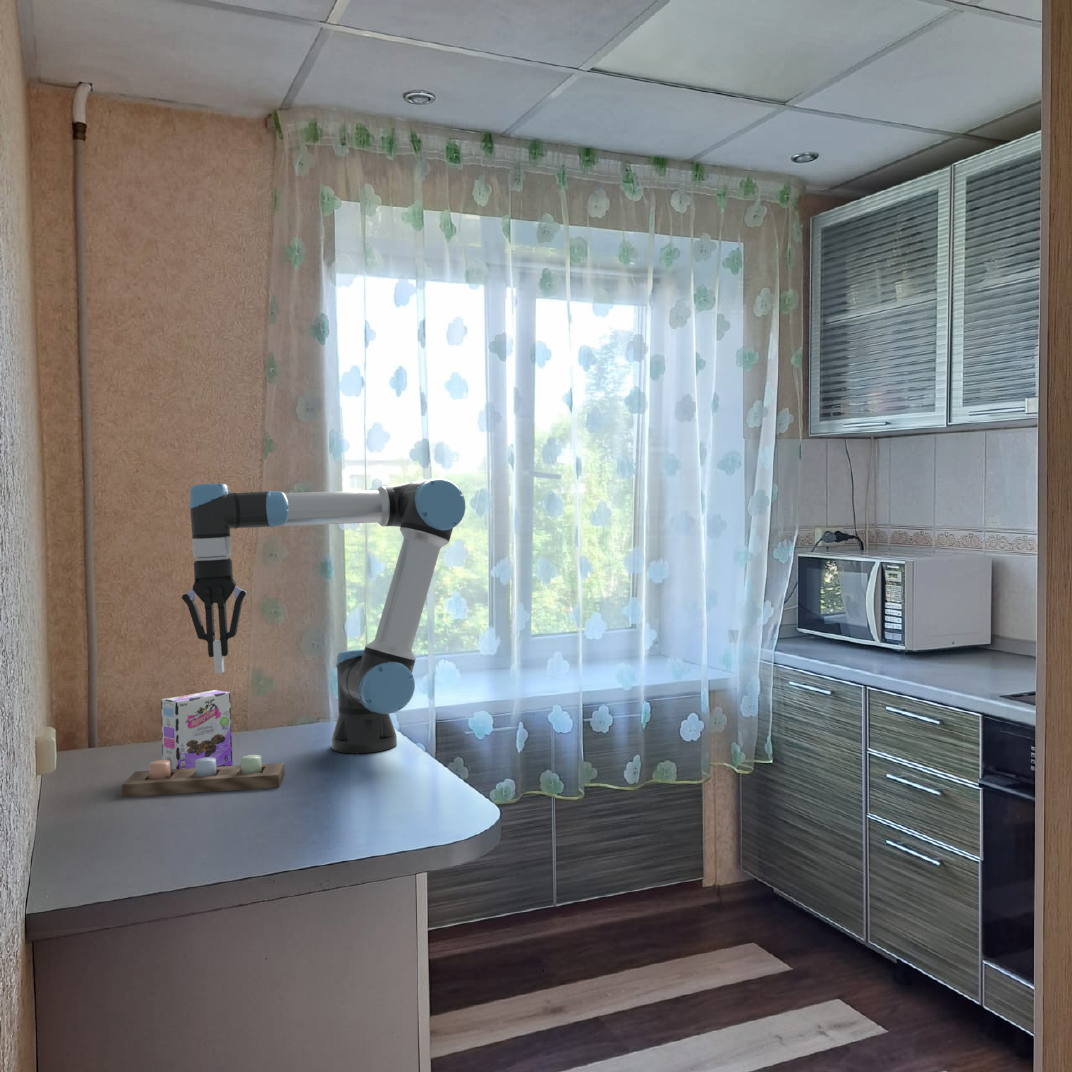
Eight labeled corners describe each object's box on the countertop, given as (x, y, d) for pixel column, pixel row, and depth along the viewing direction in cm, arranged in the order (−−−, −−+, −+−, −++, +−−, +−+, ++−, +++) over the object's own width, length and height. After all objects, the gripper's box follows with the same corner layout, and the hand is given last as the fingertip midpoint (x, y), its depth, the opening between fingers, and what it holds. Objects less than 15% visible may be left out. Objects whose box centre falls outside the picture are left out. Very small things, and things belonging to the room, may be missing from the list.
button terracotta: (172, 778, 200) (172, 759, 200) (168, 784, 196) (167, 764, 196) (152, 780, 199) (151, 760, 199) (147, 785, 195) (146, 765, 195)
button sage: (262, 773, 202) (262, 754, 202) (260, 778, 198) (259, 758, 198) (243, 774, 202) (242, 755, 202) (240, 779, 198) (239, 760, 198)
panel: (284, 774, 206) (284, 762, 206) (278, 787, 196) (278, 774, 196) (135, 783, 202) (135, 771, 202) (122, 797, 192) (122, 784, 192)
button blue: (218, 776, 201) (217, 756, 201) (214, 781, 197) (213, 761, 197) (198, 777, 201) (197, 758, 201) (194, 782, 197) (193, 762, 197)
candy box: (177, 779, 205) (175, 701, 204) (161, 775, 208) (159, 698, 208) (233, 764, 216) (231, 690, 215) (217, 761, 219) (215, 688, 219)
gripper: (247, 556, 206) (254, 666, 207) (183, 559, 204) (190, 671, 205) (242, 557, 198) (249, 672, 199) (176, 561, 196) (183, 677, 197)
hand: (219, 672), depth 202 cm, fingers closed
